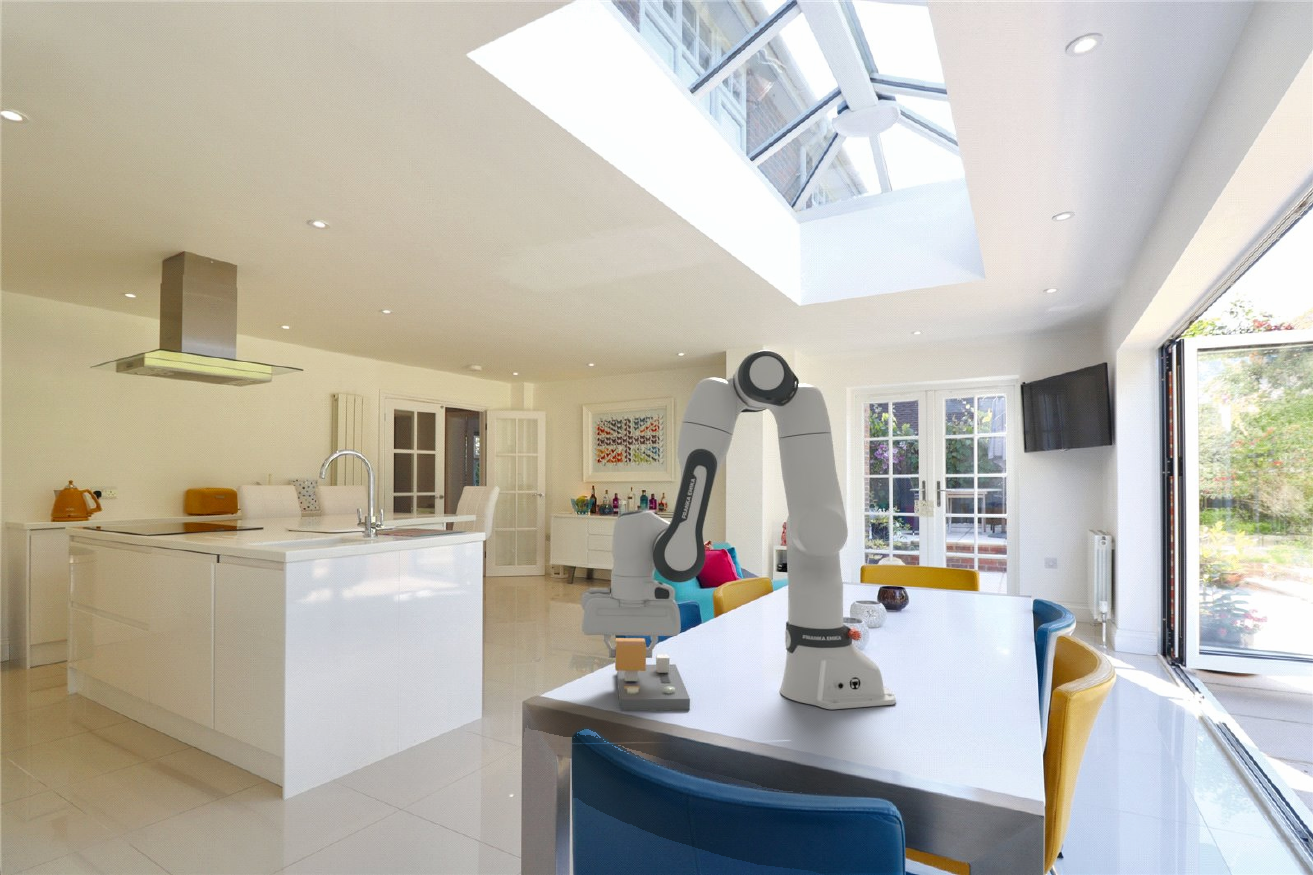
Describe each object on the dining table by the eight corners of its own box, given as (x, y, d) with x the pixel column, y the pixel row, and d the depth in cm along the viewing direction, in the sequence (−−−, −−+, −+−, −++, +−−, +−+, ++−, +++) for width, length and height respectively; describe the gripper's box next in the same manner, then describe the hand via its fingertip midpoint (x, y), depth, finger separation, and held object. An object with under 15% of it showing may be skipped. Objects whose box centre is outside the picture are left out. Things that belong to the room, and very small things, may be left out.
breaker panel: (675, 673, 145) (675, 660, 146) (689, 709, 122) (690, 694, 122) (617, 673, 144) (617, 661, 145) (619, 710, 120) (620, 694, 121)
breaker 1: (636, 676, 134) (637, 661, 135) (637, 681, 131) (638, 665, 132) (624, 676, 134) (624, 662, 134) (624, 681, 131) (625, 665, 131)
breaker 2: (667, 668, 141) (668, 654, 141) (669, 672, 138) (669, 658, 138) (655, 668, 141) (656, 654, 141) (656, 672, 138) (657, 658, 138)
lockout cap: (643, 662, 136) (644, 638, 137) (645, 670, 130) (646, 645, 131) (614, 662, 136) (615, 638, 136) (615, 670, 130) (616, 645, 130)
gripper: (581, 590, 130) (578, 660, 129) (682, 591, 132) (681, 661, 131) (582, 585, 137) (579, 652, 136) (679, 586, 138) (677, 653, 137)
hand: (630, 657), depth 133 cm, fingers closed on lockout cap, 6 cm apart
